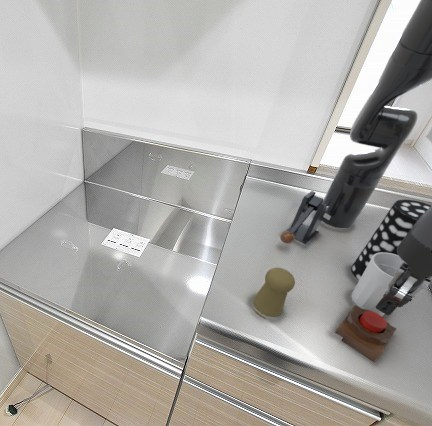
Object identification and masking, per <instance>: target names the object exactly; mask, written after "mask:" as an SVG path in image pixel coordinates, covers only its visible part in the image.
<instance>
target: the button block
mask: <svg viewBox="0 0 432 426" xmlns="http://www.w3.org/2000/svg"><path fill="white" fill-rule="evenodd" d="M366 311H370V310H366V309H362V308H360V307H359V306H358V305H357V304H355V305H354V306H353V307H352V308H351V310H350V311H349V313H348V314H347V315H346V316H345V318H344V319H343V320H342V321H341V323H340V324H339V325H338V327H337V328H336V330H335V331H334V333H335V334H337V335H338V336H340V337H341V341H342V342H343V344H346V345H347V346H348V347H350V348H352V349H353V350H355V351H356V352H358V353H359V354H360V355H362V356H363V357H365V358H367V359H368V360H370V361H371V362H373V363H375V362H376V361H378V360H379V358H380V357H381V356H382V354H383V352H384V351H385V349H386V347H387V346H388V343H389V342H390V340H391V338H392V337H393V335H394V334H395V332H396V330H397V327H395V326H393V325H391V324H390V323H389V322H388V321H387V320H386V322H387V326H386V327H385V328H384V329H383V331H382V332H380V333H374V332H371V331H369V330H367V329H366V328H364V327H363V326H362V325H361V323H360V321H359V319H360V317H361V316H362V315H363V313H364V312H366ZM372 312H373V311H372Z"/></svg>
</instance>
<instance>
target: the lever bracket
mask: <svg viewBox="0 0 432 426" xmlns="http://www.w3.org/2000/svg"><path fill="white" fill-rule="evenodd" d="M314 196H316V191H313V190H311V191H309V192H308V193H307V194H305V195H303V197H302V199H301V203H300V205H299V206H298V209H297V212H296V214H295V216H294V218H293V221H292V222H291V225H290V227H289V228H287V229H286V230H285V231H290V229H291V228H292V227H293V226H294V224H295V223H296V222H297V221H298V220H299V218H300V217H301V216H302V215H303V214H304V212H305V211H306V210H307V209H308V203H309V202H310V200H311V199H312V198H313V197H314ZM323 200H324V199H323ZM331 201H332V199H331V198H329V197H328V198H327V199H326V200H324V201H323V202H322V203H321V204H320V206H319V208H318V210H317V211H315V213H314V216H313V217H312V220H311V222H310V224H309V225H306V224H304V223H302V225H301V226H300V227H299V228H298V230H297V231H296V232H295V233H294V236H295V239H294V240H296V241H298V242H299V243H302V244H304V245H307V244H308V243H309V242H310V241H311V240H313V239H314V238H315V237H316V236H317V235H319V233H320V230H318V228H319V226H320V224H321V222H322V221H321V220H322V218H323V216H324V214H325V212H326V211H327V210H328V209H329V205H330V203H331Z"/></svg>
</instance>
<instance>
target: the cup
mask: <svg viewBox="0 0 432 426" xmlns="http://www.w3.org/2000/svg"><path fill="white" fill-rule="evenodd" d="M403 262H404V261H403V260H402V259H401V258H400V257H399V255H396V254H392V253H385V252H380V253H376V254H374V255H373V256H372V258H371V260H370V262H369V264H368V266H367V268H366V269H365V271H364V273H363V275H362V276H361V278H360V280H358V282H357V283H356V285H355V287H354V289H353V291H352V292H351V299H352V302H354V304H355V305H357V306H358V307H360V308H362V309H366V310H370V311H373V312H375V313H377V314H379V315H381V316H382V317H383V316H385V315H386V314H385V313H383V312H381V311H379V310H377V309H376V305H377V304H378V302H379V301H380V300H381V299H382V298H383V295H384V294H385V292H386V291H388V284H389V283H390V281H391V280H392V279H393V277H394V276H395V273H396V271H397V270H398V269H399V267H400V266H401V264H402V263H403Z"/></svg>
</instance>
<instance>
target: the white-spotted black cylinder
mask: <svg viewBox="0 0 432 426" xmlns="http://www.w3.org/2000/svg"><path fill="white" fill-rule="evenodd" d="M431 206H432V204H429V203H426V202H423V201H418V200H414V199H398V200H395V202H393V204H392V206H391V207H390V208H389V210H388V212H387V213H386V214H385V216H384V218H383V219H382V221H381V222H380V224H379V225H378V226H377V228H376V229H375V231H374V233H373V234H372V236H371V237H370V239H369V240H368V242H367V243H366V244H365V246H364V247H363V249H362V251H360V254H358V256H357V258H356V260H355V261H354V263H353V264H351V265H352V266H350V271H351V274H352V275H353V277H355V278H356V280H358V281H359V280H360V278H361V276H362V275H363V273H364V271H365V269H366V268H367V266H368V264H369V262H370V260H371V258H372V256H373V255H374V254H376V253H380V252H385V253H392V254H396V255H398V253H397V247H398V245H399V244H400V243H401V241H402V240H403V239H404V238H405V236H406V235H407V234H408V232H409V231H410V230H411V228H412V227H413V226H414V224H415V223H416V222H417V220H418V219H419V218H420V217H421V215H422V214H423V213H424V212H425V211H426V210H428V209H429V208H430V207H431Z"/></svg>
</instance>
